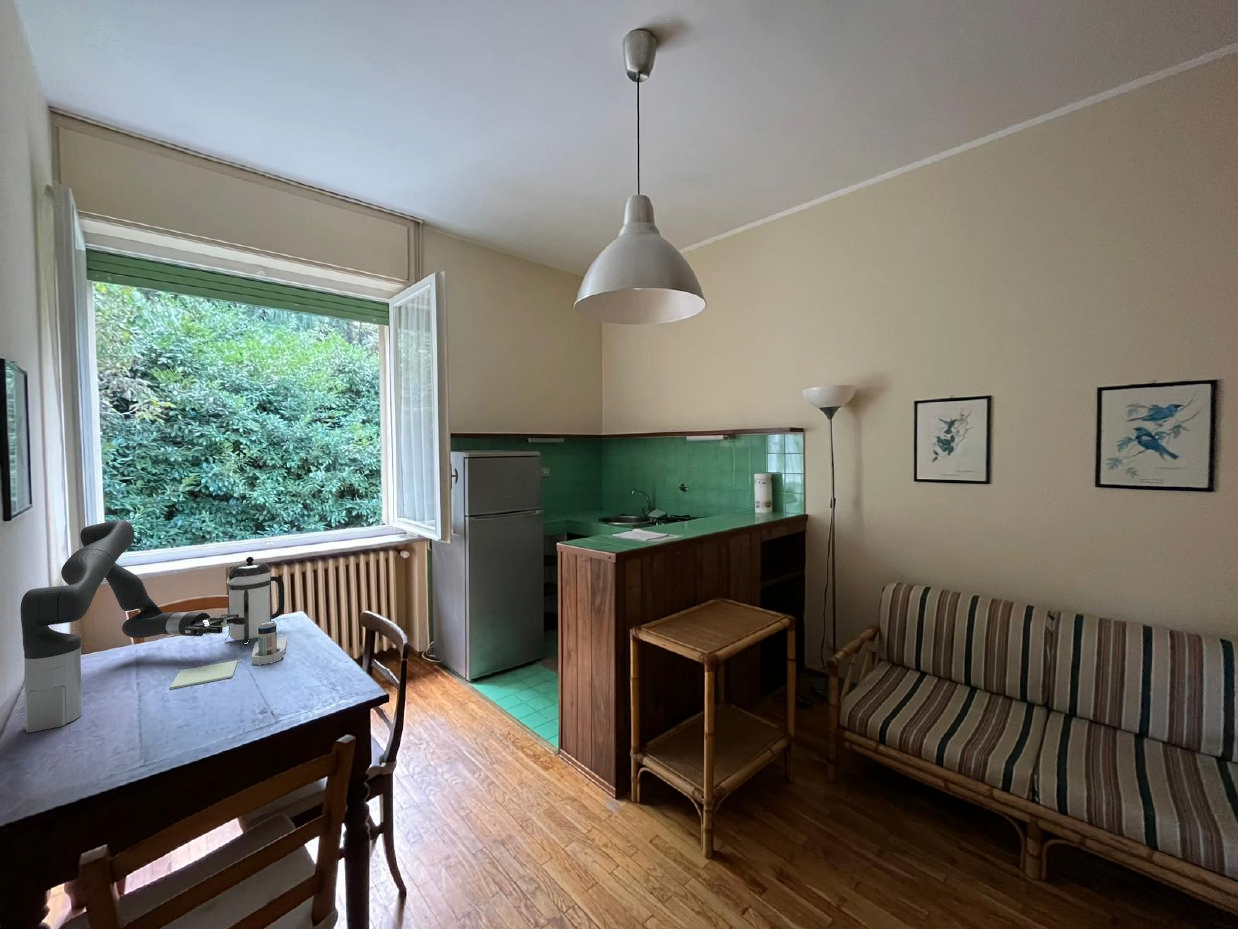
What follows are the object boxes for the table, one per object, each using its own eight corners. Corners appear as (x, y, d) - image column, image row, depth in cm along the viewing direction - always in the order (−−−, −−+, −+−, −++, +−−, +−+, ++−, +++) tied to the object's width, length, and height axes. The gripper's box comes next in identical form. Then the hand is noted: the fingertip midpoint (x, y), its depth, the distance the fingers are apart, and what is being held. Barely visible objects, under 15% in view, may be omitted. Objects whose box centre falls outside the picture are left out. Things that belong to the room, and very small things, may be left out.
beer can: (280, 656, 163) (279, 620, 163) (270, 662, 158) (270, 625, 158) (265, 657, 163) (264, 620, 163) (255, 663, 158) (254, 625, 158)
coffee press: (272, 642, 177) (271, 558, 177) (217, 649, 171) (216, 562, 171) (285, 627, 193) (284, 550, 193) (235, 633, 187) (234, 554, 187)
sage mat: (232, 677, 147) (232, 675, 147) (169, 689, 140) (169, 687, 140) (237, 662, 159) (237, 660, 159) (180, 672, 151) (180, 670, 151)
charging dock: (283, 660, 160) (283, 653, 160) (249, 667, 155) (249, 659, 155) (286, 641, 178) (286, 634, 178) (255, 646, 173) (255, 639, 173)
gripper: (166, 619, 157) (213, 621, 155) (208, 606, 171) (251, 607, 169) (167, 643, 157) (213, 645, 155) (208, 627, 171) (251, 629, 169)
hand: (233, 625), depth 162 cm, fingers open, 8 cm apart
